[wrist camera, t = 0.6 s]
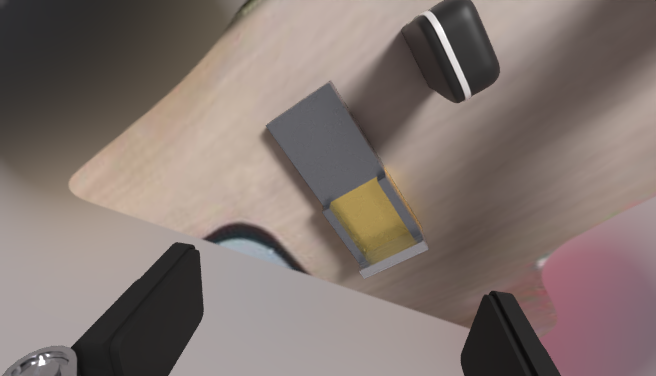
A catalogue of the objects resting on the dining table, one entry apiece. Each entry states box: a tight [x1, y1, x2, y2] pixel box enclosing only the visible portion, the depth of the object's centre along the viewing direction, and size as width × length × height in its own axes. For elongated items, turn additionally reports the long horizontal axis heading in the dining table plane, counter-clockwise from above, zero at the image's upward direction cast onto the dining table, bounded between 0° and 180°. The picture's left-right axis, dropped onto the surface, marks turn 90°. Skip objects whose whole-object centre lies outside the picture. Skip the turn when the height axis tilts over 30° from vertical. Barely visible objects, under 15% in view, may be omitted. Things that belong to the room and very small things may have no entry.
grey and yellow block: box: [266, 81, 429, 279], centre depth 36 cm, size 8×20×5 cm, turn 33°
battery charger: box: [402, 0, 500, 103], centre depth 27 cm, size 7×4×11 cm, turn 32°
